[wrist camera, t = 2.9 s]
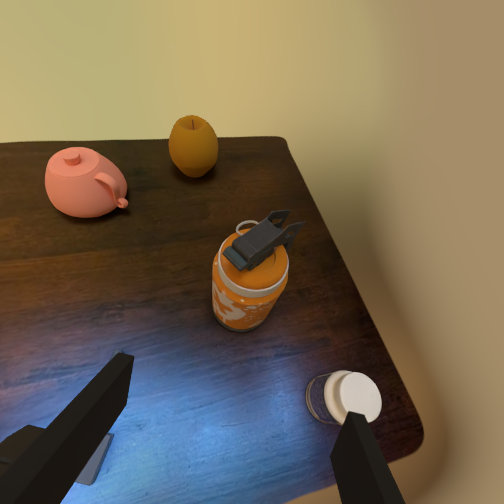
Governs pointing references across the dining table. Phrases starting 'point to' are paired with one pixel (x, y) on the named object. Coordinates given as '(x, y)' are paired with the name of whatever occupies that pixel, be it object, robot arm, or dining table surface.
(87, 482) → the axe
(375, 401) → the pill bottle
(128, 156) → the dining table surface
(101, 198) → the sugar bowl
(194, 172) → the apple
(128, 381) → the robot arm
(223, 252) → the canister
